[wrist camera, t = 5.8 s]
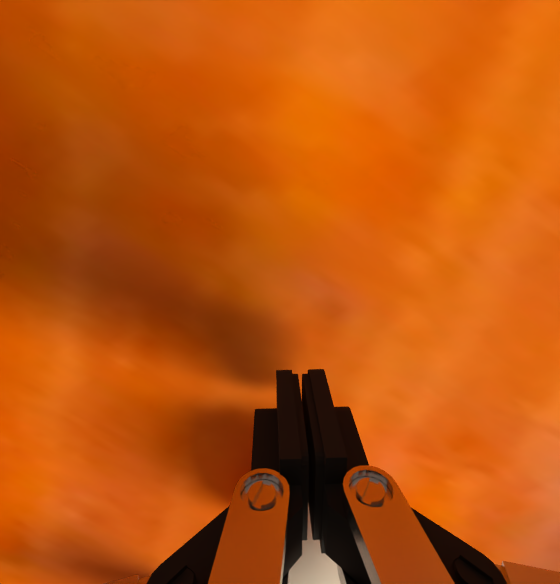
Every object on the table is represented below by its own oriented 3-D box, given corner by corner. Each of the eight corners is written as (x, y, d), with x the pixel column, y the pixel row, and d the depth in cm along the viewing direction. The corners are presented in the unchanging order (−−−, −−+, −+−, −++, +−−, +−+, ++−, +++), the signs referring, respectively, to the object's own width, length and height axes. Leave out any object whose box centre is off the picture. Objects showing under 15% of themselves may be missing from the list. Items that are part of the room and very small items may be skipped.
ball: (193, 705, 10) (218, 577, 16) (388, 720, 10) (344, 588, 16) (219, 493, 11) (235, 443, 16) (398, 510, 11) (353, 455, 17)
